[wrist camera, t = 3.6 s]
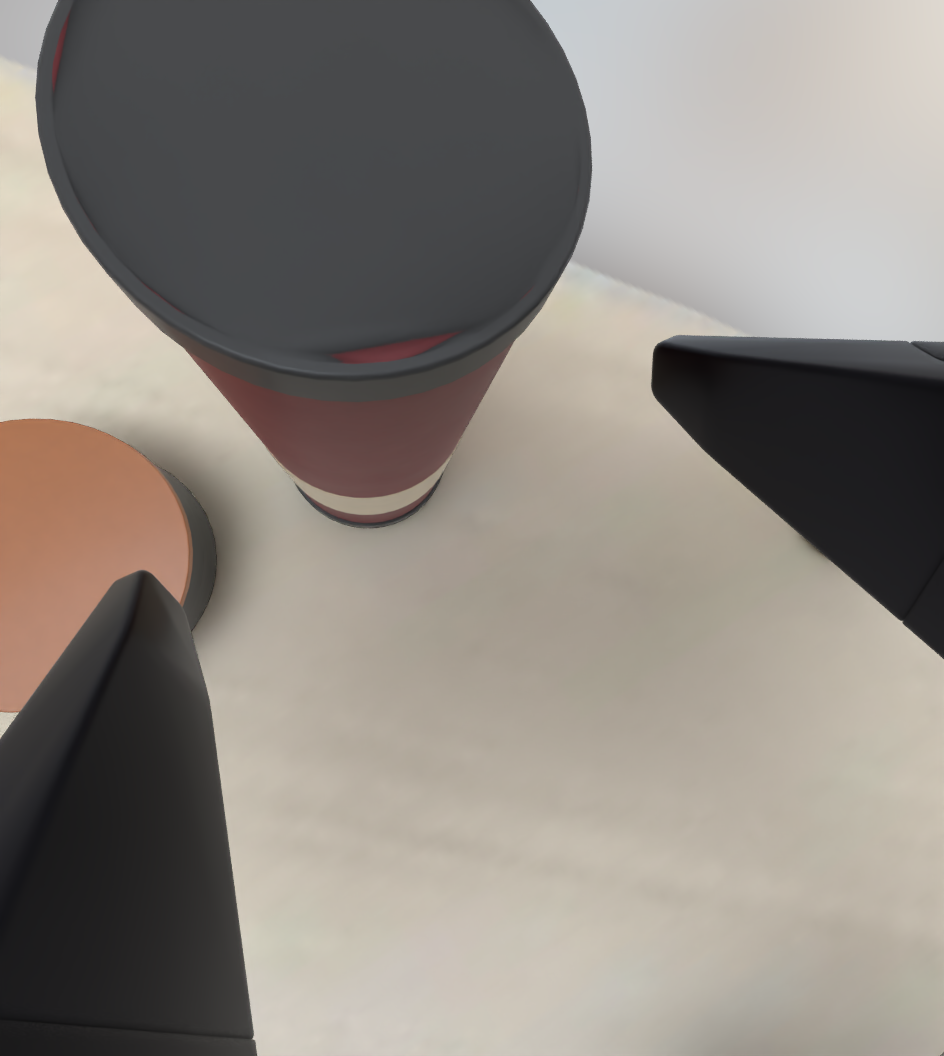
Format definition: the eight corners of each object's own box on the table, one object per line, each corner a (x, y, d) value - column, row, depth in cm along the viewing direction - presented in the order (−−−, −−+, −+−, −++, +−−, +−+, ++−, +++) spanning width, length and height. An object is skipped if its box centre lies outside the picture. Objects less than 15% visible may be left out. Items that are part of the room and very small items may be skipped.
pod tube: (389, 558, 18) (416, 488, 5) (256, 471, 18) (-113, 137, 4) (472, 435, 19) (677, 101, 6) (347, 349, 19) (268, -220, 5)
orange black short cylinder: (121, 736, 16) (64, 770, 13) (-108, 603, 16) (-222, 607, 13) (269, 531, 18) (247, 521, 15) (65, 401, 17) (0, 363, 14)
